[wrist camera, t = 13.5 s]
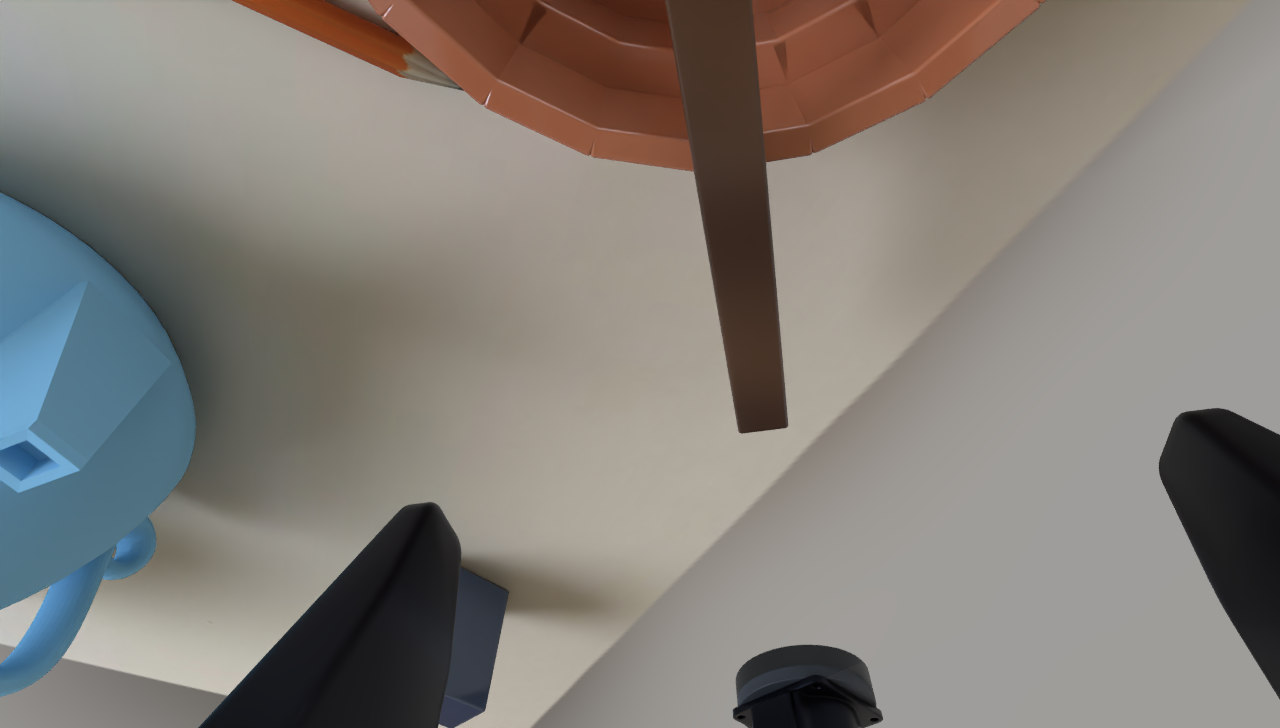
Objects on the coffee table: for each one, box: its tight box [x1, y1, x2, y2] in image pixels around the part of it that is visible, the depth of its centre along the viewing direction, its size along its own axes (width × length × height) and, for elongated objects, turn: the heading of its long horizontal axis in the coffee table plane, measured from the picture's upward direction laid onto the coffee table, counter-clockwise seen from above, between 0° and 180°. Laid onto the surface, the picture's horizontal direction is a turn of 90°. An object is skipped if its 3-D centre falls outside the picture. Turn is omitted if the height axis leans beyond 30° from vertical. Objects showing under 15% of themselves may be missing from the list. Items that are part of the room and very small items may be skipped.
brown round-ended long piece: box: [665, 0, 788, 433], centre depth 14 cm, size 14×4×7 cm, turn 12°
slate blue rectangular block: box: [439, 567, 509, 728], centre depth 29 cm, size 4×2×5 cm, turn 46°
